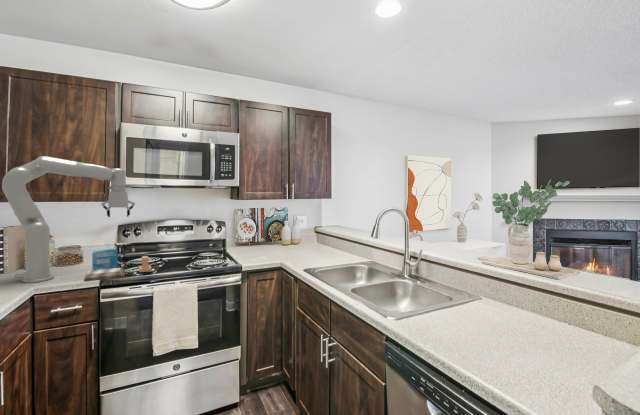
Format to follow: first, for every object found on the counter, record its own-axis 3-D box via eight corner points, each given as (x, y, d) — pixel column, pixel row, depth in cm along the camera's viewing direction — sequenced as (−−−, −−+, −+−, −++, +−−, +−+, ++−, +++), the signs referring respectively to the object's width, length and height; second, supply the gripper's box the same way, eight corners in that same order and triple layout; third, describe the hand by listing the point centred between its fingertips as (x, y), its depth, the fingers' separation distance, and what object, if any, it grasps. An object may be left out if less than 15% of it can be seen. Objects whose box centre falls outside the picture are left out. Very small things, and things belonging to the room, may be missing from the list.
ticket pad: (84, 281, 164) (84, 274, 163) (86, 276, 172) (86, 270, 172) (124, 277, 173) (124, 270, 173) (124, 273, 182) (124, 266, 181)
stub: (139, 272, 177) (139, 259, 177) (138, 268, 185) (138, 256, 185) (151, 271, 180) (151, 258, 180) (150, 267, 188) (150, 255, 188)
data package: (95, 272, 182) (94, 252, 181) (92, 271, 185) (92, 251, 184) (118, 268, 192) (117, 249, 191) (115, 267, 194) (114, 248, 194)
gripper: (100, 188, 181) (100, 217, 182) (135, 189, 190) (135, 216, 191) (101, 188, 187) (101, 216, 188) (134, 189, 196) (134, 216, 197)
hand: (118, 216), depth 190 cm, fingers open, 9 cm apart
